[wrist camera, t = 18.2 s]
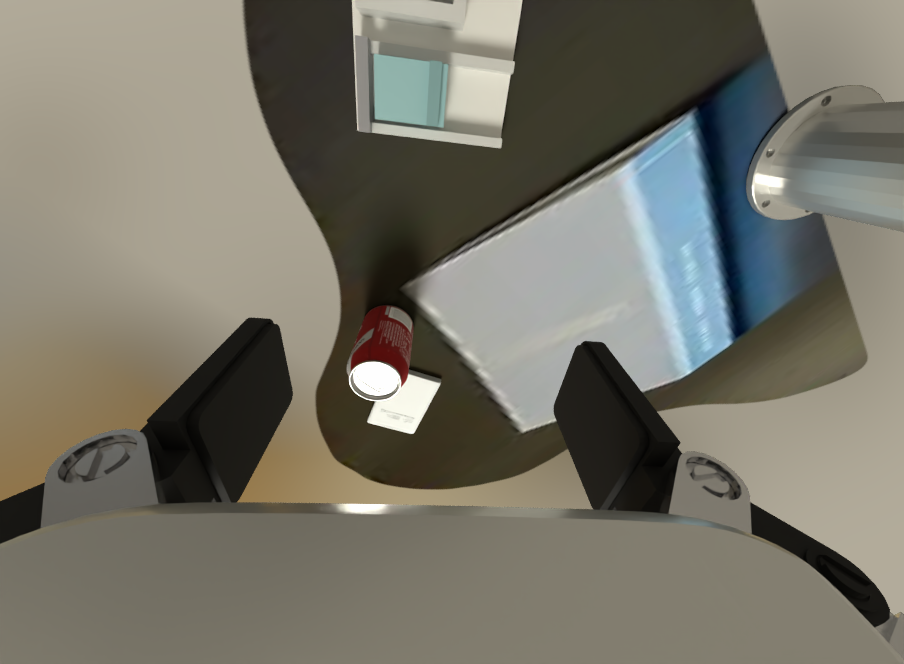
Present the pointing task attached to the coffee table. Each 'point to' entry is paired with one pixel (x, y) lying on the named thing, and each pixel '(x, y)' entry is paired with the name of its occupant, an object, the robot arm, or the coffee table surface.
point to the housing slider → (410, 90)
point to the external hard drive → (406, 404)
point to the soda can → (381, 353)
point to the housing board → (451, 42)
